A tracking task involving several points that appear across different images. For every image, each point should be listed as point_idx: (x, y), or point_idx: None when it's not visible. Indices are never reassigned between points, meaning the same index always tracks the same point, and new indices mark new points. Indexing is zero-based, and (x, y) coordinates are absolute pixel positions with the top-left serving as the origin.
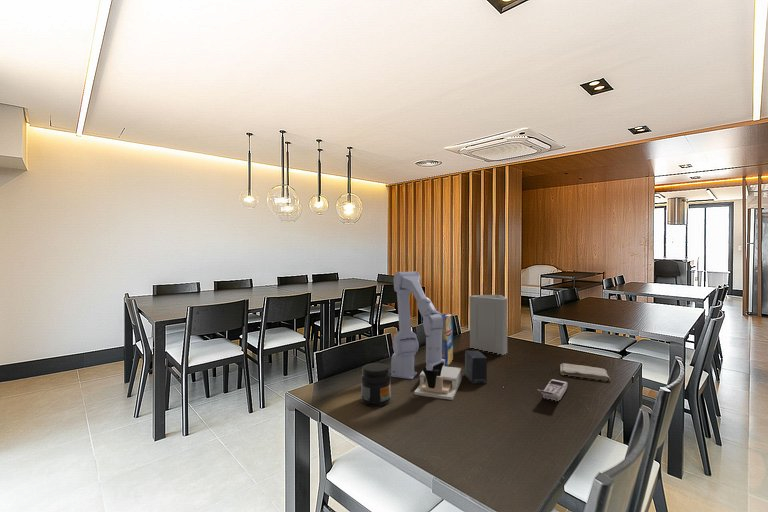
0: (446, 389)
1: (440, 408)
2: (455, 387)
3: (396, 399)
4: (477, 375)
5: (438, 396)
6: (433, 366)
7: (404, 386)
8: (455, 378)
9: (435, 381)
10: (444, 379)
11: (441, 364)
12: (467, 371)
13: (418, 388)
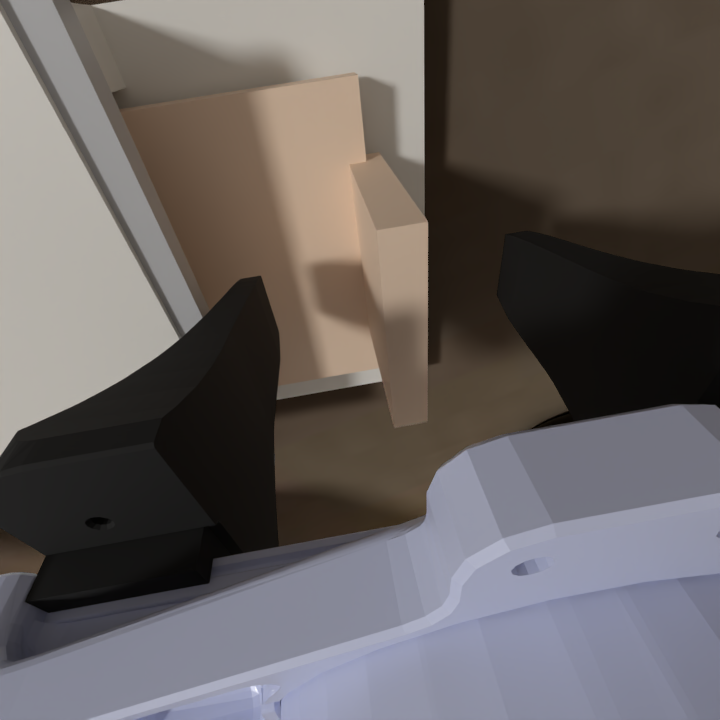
0: (316, 115)
1: (667, 38)
2: (90, 22)
3: (525, 400)
4: None
5: (420, 170)
6: (262, 479)
7: (319, 448)
8: (5, 18)
9: (596, 252)
10: (169, 229)
11: (200, 432)
12: None
13: (351, 376)
